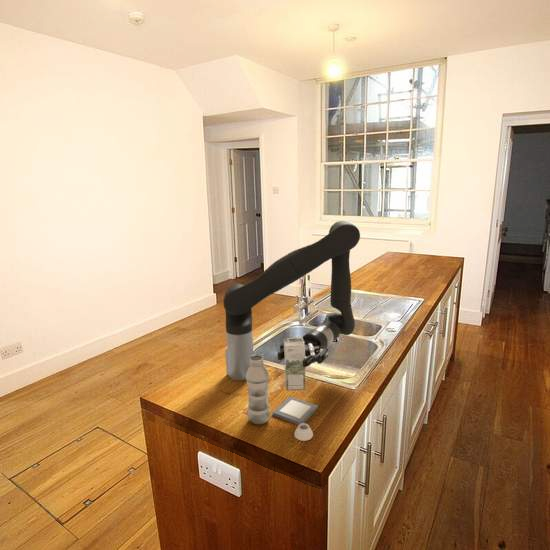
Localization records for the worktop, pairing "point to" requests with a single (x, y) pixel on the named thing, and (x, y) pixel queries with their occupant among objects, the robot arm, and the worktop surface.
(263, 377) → the plastic bottle
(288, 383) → the syrup box
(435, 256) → the worktop surface
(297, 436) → the white jar
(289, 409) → the plate
